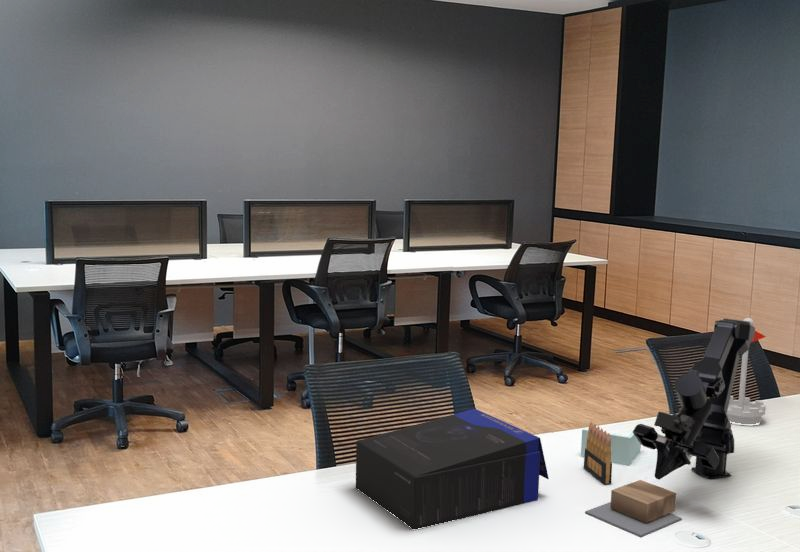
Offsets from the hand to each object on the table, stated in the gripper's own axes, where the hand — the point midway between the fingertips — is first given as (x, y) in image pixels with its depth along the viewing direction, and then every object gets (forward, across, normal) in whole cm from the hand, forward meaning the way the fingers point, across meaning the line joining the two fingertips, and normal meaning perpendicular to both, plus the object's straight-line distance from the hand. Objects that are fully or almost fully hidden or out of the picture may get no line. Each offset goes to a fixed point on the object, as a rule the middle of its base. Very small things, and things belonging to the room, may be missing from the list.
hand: (656, 478), depth 184 cm
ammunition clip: (+2, -19, +8) cm, 21 cm away
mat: (+10, 0, 0) cm, 10 cm away
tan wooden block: (+2, 0, +3) cm, 4 cm away
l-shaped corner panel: (-9, -27, +19) cm, 34 cm away
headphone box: (+26, -32, -16) cm, 44 cm away
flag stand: (-48, -23, +57) cm, 78 cm away
